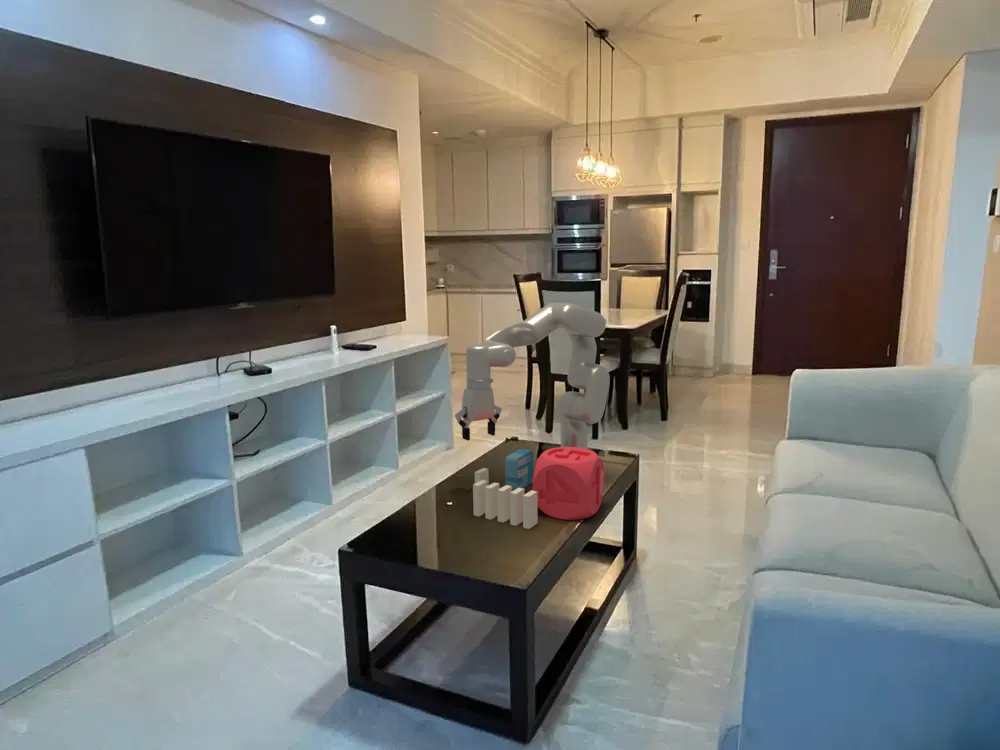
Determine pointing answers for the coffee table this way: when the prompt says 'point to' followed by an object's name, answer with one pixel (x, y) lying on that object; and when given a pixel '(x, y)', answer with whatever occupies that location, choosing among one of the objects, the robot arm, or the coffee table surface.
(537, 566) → the coffee table surface
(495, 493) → the domino
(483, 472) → the domino
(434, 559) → the coffee table surface
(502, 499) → the domino
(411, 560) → the coffee table surface
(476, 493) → the domino
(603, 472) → the red foam number die
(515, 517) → the domino
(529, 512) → the domino
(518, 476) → the data package
